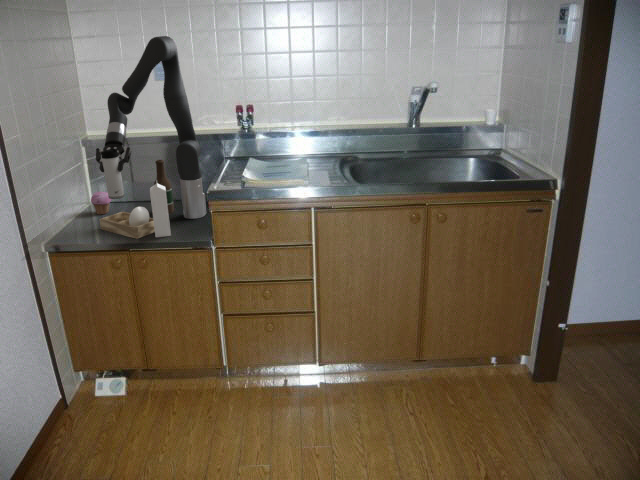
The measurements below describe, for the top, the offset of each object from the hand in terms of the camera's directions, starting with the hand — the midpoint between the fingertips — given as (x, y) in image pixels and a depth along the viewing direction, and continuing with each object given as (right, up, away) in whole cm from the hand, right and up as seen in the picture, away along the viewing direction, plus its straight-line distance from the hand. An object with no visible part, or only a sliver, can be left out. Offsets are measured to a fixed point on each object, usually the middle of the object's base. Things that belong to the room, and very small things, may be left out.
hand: (110, 171), depth 218 cm
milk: (+20, -25, +3) cm, 33 cm away
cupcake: (-15, -16, +30) cm, 37 cm away
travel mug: (0, -10, +6) cm, 12 cm away
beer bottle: (+14, -15, +30) cm, 36 cm away
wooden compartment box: (+5, -23, +8) cm, 25 cm away
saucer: (+10, -23, +5) cm, 26 cm away
